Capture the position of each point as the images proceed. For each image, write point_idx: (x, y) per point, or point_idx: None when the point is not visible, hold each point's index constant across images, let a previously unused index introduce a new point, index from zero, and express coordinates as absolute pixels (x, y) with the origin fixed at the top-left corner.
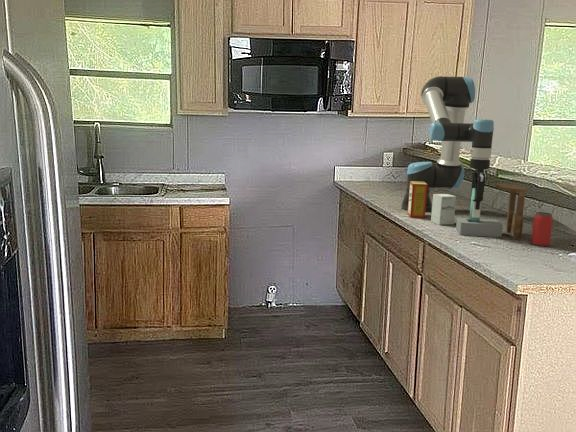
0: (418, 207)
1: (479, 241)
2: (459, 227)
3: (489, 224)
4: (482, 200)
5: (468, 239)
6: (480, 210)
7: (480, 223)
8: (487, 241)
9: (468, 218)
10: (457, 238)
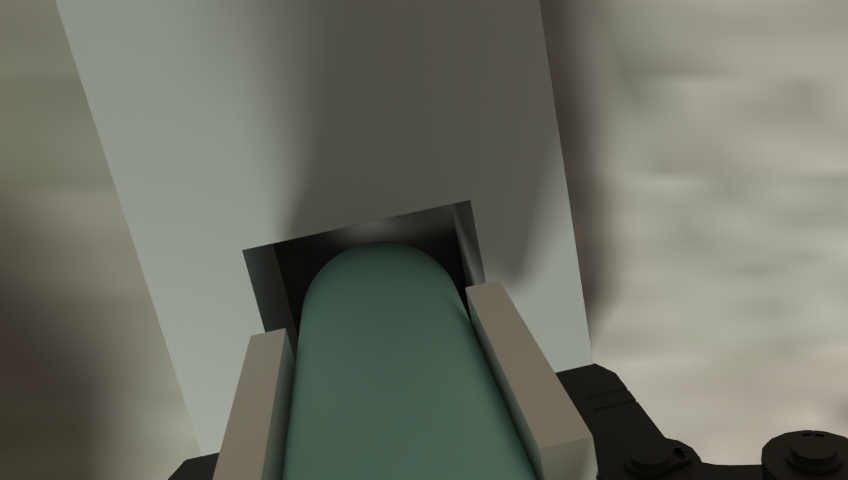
0: None
1: (835, 175)
2: None
3: (550, 84)
4: (835, 435)
5: (771, 298)
6: (419, 326)
7: (555, 229)
8: (805, 80)
9: (200, 426)
10: (761, 411)
